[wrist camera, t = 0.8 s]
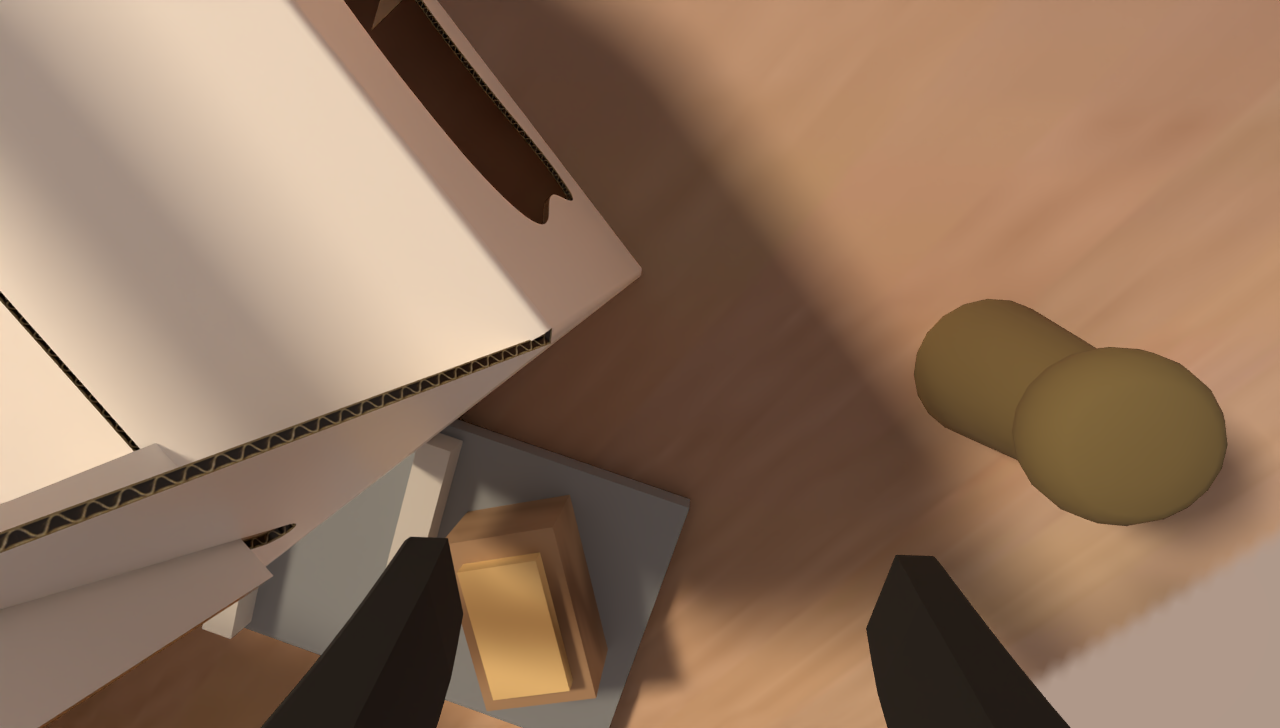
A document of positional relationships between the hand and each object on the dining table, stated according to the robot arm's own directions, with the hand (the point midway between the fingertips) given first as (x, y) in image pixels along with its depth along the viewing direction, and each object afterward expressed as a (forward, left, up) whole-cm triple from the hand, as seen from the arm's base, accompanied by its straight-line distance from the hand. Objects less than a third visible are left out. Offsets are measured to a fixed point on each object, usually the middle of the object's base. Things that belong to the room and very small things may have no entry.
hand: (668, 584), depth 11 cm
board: (-13, +9, -19) cm, 25 cm away
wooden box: (-12, +4, -18) cm, 22 cm away
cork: (+4, -12, -20) cm, 23 cm away
